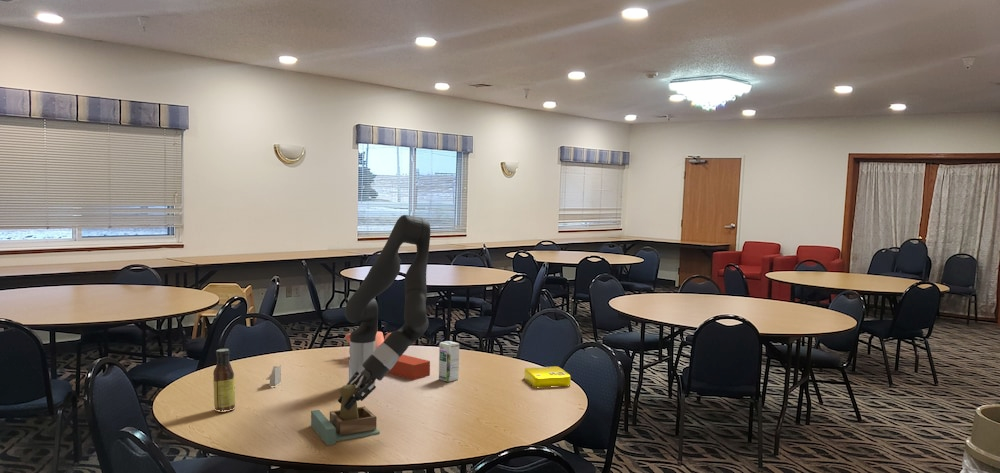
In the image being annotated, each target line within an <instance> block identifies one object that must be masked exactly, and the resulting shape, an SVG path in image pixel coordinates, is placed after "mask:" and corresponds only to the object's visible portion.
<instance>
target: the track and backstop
mask: <svg viewBox="0 0 1000 473" xmlns="http://www.w3.org/2000/svg"><path fill="white" fill-rule="evenodd" d="M310 414H311V415H310V418H311V420H310V426H311V428H312V429H313V430H314V431H315V432H316V433H317V435H318V436H319V437H320V439H321V440H322V441H323V443H325V445H326V446H331V445H332V446H333V445H336V442H340V441H346V440H351V439H357V438H364V437H368V436H374V435H380V434H381V432H380V430H379V429H378V428H376V430H370V431H364V432H358V433H352V434H346V435H341V436H340V435H339V434H338V433H337V432H336V428H335V427H334V426H333V425H332V424H331V422H330V419H328V418H327V417H326V415H324V413H323V412H322V411H321V410H320V409H315V410H311V411H310Z"/></svg>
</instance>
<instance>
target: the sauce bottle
mask: <svg viewBox="0 0 1000 473" xmlns="http://www.w3.org/2000/svg"><path fill="white" fill-rule="evenodd" d="M215 355H216V365H215V368H214V369H213V382H212V383H213V401H214V402H213V403H214V410H215V409H216V410H220V411H222V410H223V411H224V410H230V409H233V408H234V407H235V408H236V391H235V388H236V387H235V374H234V370H233V367H232V365H231V363H230V362H231V361H230V349H229V348H219V349H217V350H215Z"/></svg>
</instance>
